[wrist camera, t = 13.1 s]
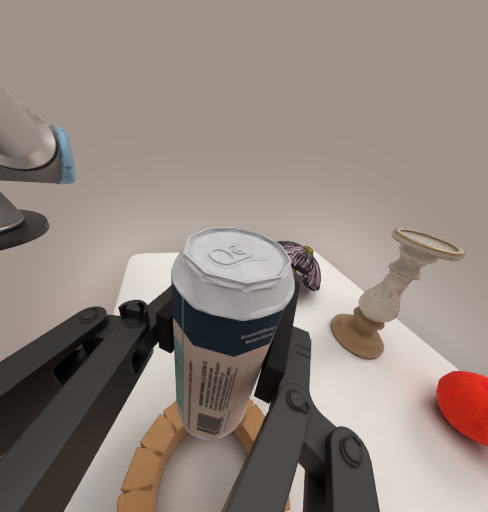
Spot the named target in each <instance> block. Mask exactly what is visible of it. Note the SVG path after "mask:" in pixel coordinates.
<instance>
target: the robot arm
mask: <svg viewBox="0 0 488 512" xmlns="http://www.w3.org/2000/svg"><path fill="white" fill-rule="evenodd" d="M0 180H3V181H21V182H22V181H23V182H40V183H56V184H66V183H67V184H68V183H73V182H74V181H75V180H76V175H75V167H74V162H73V156H72V151H71V146H70V142H69V138H68V135H67V132H66V131H65V130H64V129H62V128H58V127H56V126H53V125H51V126H47V124H46V123H45V122H44V121H42V119H41V118H39V117H38V116H37V115H35V114H34V113H33V112H31V111H29V110H28V109H26V108H23V107H22V106H20V105H19V104H18V102H17V101H16V100H15V99H14V98H13V96H12V95H11V94H10V93H9V92H8V90H7V89H6V88H5V87H4V86H3V84H2V83H1V82H0ZM24 224H25V219H24V217H23V215H22V213H21V212H20V211H19V210H18V209H16V207H15V206H14V205H13V204H12V203H11V202H10V201H9V200H8V199H7V198H6V197H5V196H4V195H3V194H2V193H1V192H0V235H1V234H5V233H8V232H11V231H13V230H16V229H18V228H20V227H21V226H23V225H24ZM294 283H295V288H294V294H293V296H292V298H291V300H290V302H289V303H288V304H287V305H286V308H285V310H284V313H283V315H282V318H281V320H280V323H279V325H278V328H277V330H276V333H275V335H274V338H273V340H272V343H271V345H270V348H269V350H268V353H267V355H266V358H265V360H264V363H263V366H262V369H261V373H260V376H259V380H258V383H257V387H256V390H255V394H254V396H255V397H257V398H259V399H260V400H262V401H264V402H266V403H268V404H269V403H270V406H269V411H268V413H267V415H266V417H265V418H264V420H263V423H262V425H261V428H260V430H259V432H258V434H257V436H256V438H255V440H254V443H253V445H252V447H251V449H250V451H249V453H248V456H247V458H246V460H245V462H244V464H243V466H242V468H241V471H240V473H239V475H238V477H237V479H236V481H235V483H234V486H233V488H232V490H231V492H230V494H229V496H228V499H227V501H226V503H225V505H224V507H223V509H222V511H221V512H284V511H285V507H286V504H287V500H288V497H289V493H290V489H291V486H292V482H293V479H294V475H295V472H296V468H297V464H298V463H299V464H300V465H301V466H302V467H303V468H304V469H305V480H304V499H303V512H380V510H379V504H378V498H377V493H376V487H375V481H374V475H373V469H372V463H371V459H370V456H369V453H368V450H367V448H366V447H365V445H364V443H363V441H362V440H361V439H360V438H359V437H358V436H357V434H356V433H354V432H353V431H352V430H350V429H349V428H346V427H342V426H340V427H335V426H334V425H333V424H332V423H331V422H330V421H329V420H328V419H327V418H326V417H324V416H323V415H322V414H321V413H320V412H319V411H318V409H317V408H316V406H315V405H314V403H313V401H312V399H311V396H310V392H309V381H310V361H311V359H310V358H311V339H310V336H309V333H308V332H307V331H304V330H302V329H299V328H297V327H294V326H293V322H294V316H295V310H296V304H297V298H298V292H299V286H300V282H297V281H294ZM118 308H119V312H120V315H121V316H115V315H107V313H106V310H105V309H104V308H102V307H90V308H86V309H84V310H82V311H80V312H78V313H77V314H75V315H74V316H72V317H70V318H69V319H68V320H66V321H64V322H63V323H61V324H59V325H58V326H56V327H55V328H53V329H52V330H50V331H48V332H47V333H45V334H44V335H42V336H40V337H39V338H37V339H36V340H34V341H33V342H31V343H29V344H28V345H26V346H25V347H23V348H21V349H20V350H18V351H17V352H15V353H14V354H12V355H10V356H9V357H7V358H6V359H4V360H2V361H1V362H0V457H1V456H2V455H3V454H4V453H5V452H6V453H5V454H4V455H3V456H2V457H1V458H0V512H64V510H65V508H66V507H67V505H68V503H69V501H70V500H71V498H72V496H73V494H74V492H75V491H76V489H77V487H78V485H79V484H80V482H81V480H82V478H83V476H84V475H85V473H86V471H87V469H88V468H89V466H90V464H91V462H92V461H93V459H94V457H95V455H96V453H97V452H98V450H99V448H100V446H101V445H102V443H103V441H104V439H105V438H106V436H107V434H108V432H109V430H110V429H111V427H112V425H113V423H114V422H115V420H116V418H117V416H118V415H119V413H120V411H121V409H122V407H123V406H124V404H125V402H126V400H127V399H128V397H129V395H130V393H131V391H132V390H133V388H134V386H135V384H136V383H137V381H138V379H139V377H140V376H141V374H142V372H143V370H144V368H145V367H146V365H147V363H148V361H149V360H150V358H151V356H152V354H153V351H154V350H153V347H154V346H155V345H156V344H157V343H158V342H159V348H161V349H163V350H165V351H167V352H169V353H172V352H173V350H174V329H173V306H172V285H171V286H170V287H169V288H168V289H167V290H166V291H164V292H163V293H162V294H161V295H159V296H158V297H157V298H156V299H155V300H153V301H152V302H151V303H150V304H149V305H148V306H147V304H146V303H145V302H144V301H141V300H131V301H128V302H125V303H123V304H122V305H120V306H119V307H118ZM81 345H82V346H81ZM78 347H79V348H78Z"/></svg>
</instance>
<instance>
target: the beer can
mask: <svg viewBox="0 0 488 512" xmlns="http://www.w3.org/2000/svg"><path fill="white" fill-rule="evenodd" d="M171 283H172V306H173V329H174V353H175V376H176V399H177V412H178V415H179V418H180V420H181V423H182V424H183V426H184V427H185V429H186V430H187V431H188V432H189V433H190V434H191V435H193V436H194V437H196V438H198V439H203V440H207V441H211V440H217V439H220V438H223V437H225V436H227V435H228V434H230V433H231V432H232V431H233V430H234V429H235V428H236V427H237V426H238V425H239V423H240V422H241V420H242V418H243V416H244V414H245V411H246V407H247V403H248V400H249V398H250V395H251V393H252V390H253V388H254V385H255V383H256V380H257V378H258V375H259V373H260V370H261V368H262V365H263V363H264V360H265V358H266V355H267V353H268V350H269V348H270V345H271V343H272V340H273V338H274V335H275V333H276V330H277V328H278V325H279V323H280V320H281V318H282V315H283V313H284V310H285V308H286V305H287V304H288V303H289V302H290V300H291V298H292V296H293V294H294V288H295V283H294V277H293V272H292V267H291V259H290V258H289V256H288V254H287V253H286V251H285V250H284V248H283V247H282V245H281V244H279V243H277V242H275V241H273V240H272V239H269V238H268V237H266V236H264V235H262V234H261V233H257V232H253V231H248V230H244V229H239V228H235V227H232V228H231V227H230V228H208V229H205V230H203V231H201V232H198V233H196V234H194V235H191V236H189V237H188V241H187V242H186V244H185V245H184V248H183V249H182V251H181V252H180V254H179V255H178V256H177V258H176V259H175V261H174V264H173V267H172V269H171Z"/></svg>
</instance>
